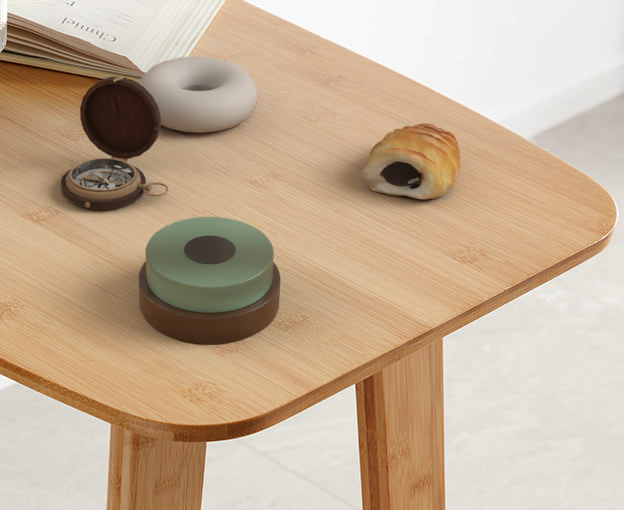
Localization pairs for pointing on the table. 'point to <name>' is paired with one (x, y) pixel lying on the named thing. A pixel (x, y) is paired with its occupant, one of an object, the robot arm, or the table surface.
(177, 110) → the donut
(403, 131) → the pastry
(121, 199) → the compass
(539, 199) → the table surface
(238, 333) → the ring stack
